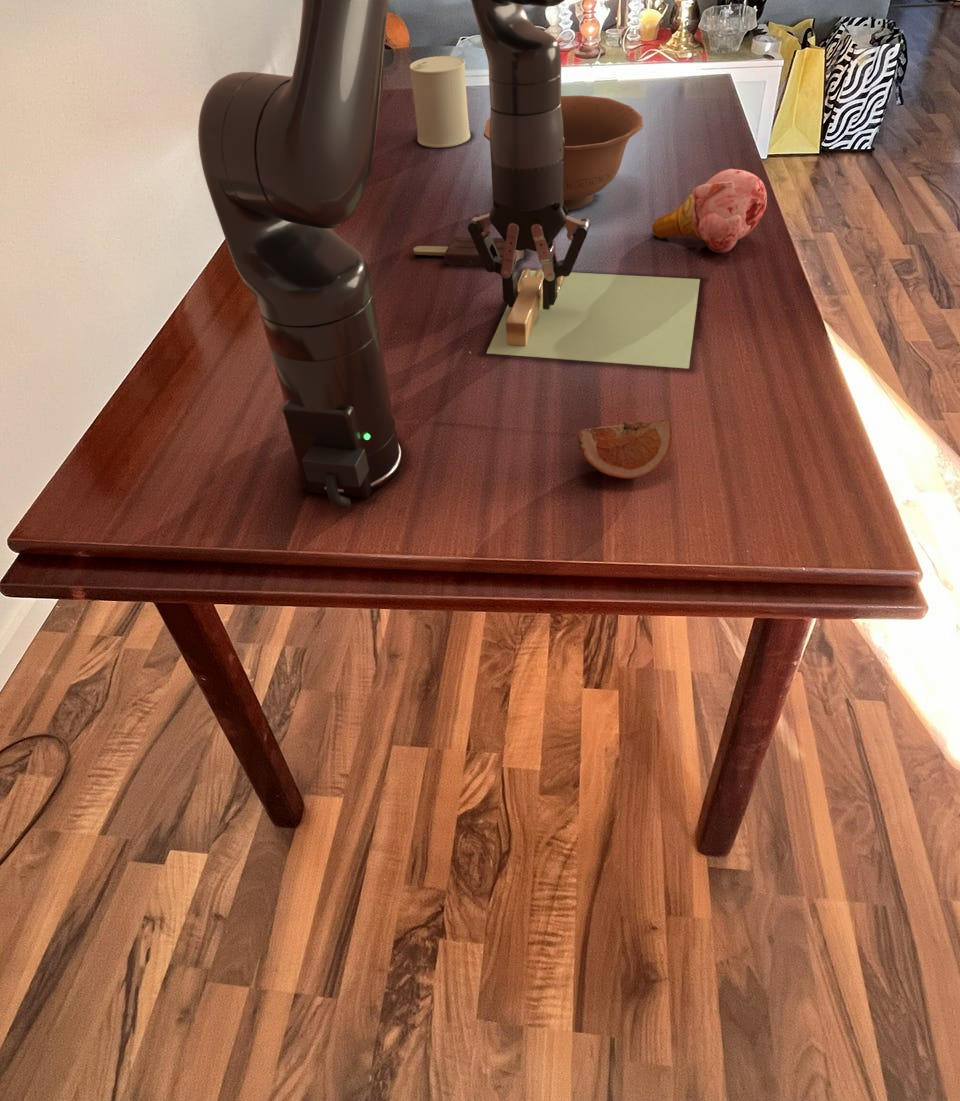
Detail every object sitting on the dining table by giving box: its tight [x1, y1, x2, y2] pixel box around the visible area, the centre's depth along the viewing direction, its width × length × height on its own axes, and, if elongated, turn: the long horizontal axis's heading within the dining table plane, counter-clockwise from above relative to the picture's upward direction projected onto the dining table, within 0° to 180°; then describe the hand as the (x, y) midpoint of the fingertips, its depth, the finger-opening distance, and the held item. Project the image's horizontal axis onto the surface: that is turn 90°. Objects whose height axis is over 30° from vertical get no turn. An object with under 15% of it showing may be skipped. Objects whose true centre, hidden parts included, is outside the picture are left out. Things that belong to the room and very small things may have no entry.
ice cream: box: [652, 168, 768, 254], centre depth 103 cm, size 11×10×15 cm
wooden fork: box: [506, 267, 564, 346], centre depth 95 cm, size 17×5×3 cm, turn 166°
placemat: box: [486, 269, 701, 370], centre depth 94 cm, size 20×22×1 cm
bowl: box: [483, 95, 644, 212], centre depth 115 cm, size 22×22×11 cm
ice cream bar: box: [413, 236, 527, 267], centre depth 107 cm, size 5×2×15 cm
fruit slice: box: [576, 419, 673, 480], centre depth 73 cm, size 8×7×5 cm
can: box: [409, 55, 471, 149], centre depth 136 cm, size 9×9×12 cm
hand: (530, 304), depth 96 cm, fingers open, 3 cm apart
